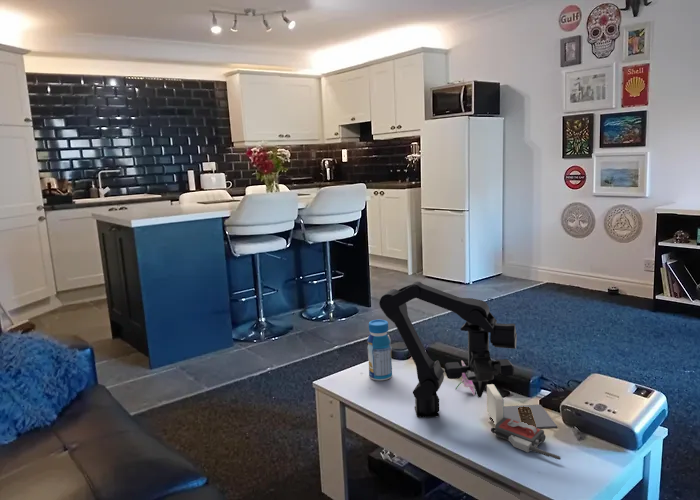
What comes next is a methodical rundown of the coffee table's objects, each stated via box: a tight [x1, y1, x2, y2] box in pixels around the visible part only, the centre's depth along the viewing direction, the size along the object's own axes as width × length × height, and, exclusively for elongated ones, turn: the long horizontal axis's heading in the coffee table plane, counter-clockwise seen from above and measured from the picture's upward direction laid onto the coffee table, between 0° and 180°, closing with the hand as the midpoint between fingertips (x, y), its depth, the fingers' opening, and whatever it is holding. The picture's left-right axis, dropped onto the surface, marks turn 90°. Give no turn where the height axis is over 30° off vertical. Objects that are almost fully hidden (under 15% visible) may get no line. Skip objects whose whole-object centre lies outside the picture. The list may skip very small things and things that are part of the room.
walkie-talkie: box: [490, 418, 562, 460], centre depth 141 cm, size 9×4×20 cm
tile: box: [486, 383, 505, 426], centre depth 155 cm, size 2×10×8 cm, turn 1°
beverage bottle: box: [366, 319, 393, 382], centre depth 188 cm, size 8×8×20 cm
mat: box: [504, 404, 558, 429], centre depth 156 cm, size 14×13×1 cm
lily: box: [455, 359, 476, 396], centre depth 174 cm, size 11×11×9 cm
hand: (479, 396), depth 155 cm, fingers closed
